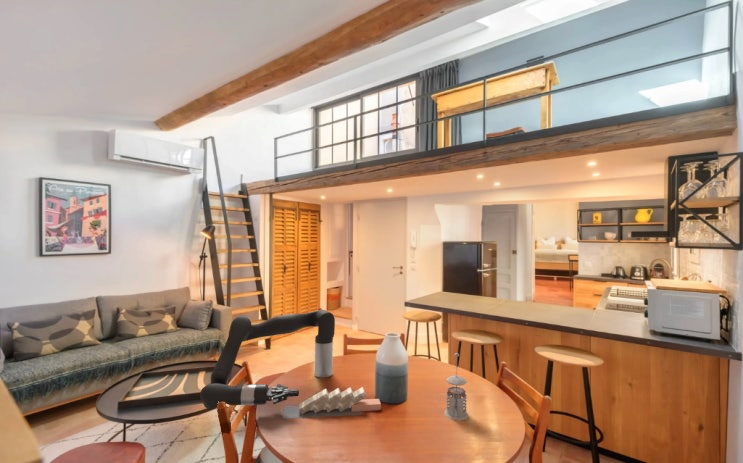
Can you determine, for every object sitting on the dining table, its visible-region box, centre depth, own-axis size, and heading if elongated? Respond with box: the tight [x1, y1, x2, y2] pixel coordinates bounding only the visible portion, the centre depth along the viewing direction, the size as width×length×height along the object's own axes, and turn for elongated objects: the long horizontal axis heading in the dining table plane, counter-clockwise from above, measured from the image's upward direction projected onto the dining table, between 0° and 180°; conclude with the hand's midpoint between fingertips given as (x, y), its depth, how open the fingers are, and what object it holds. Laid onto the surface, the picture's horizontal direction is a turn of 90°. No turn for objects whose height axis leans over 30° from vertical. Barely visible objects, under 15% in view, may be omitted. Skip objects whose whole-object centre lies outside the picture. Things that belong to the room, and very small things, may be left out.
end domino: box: [351, 398, 382, 412], centre depth 143 cm, size 2×5×12 cm
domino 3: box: [325, 386, 354, 412], centre depth 142 cm, size 2×5×12 cm
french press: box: [443, 352, 469, 421], centre depth 140 cm, size 10×12×25 cm
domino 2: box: [313, 387, 342, 413], centre depth 141 cm, size 2×5×12 cm
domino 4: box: [338, 386, 367, 412], centre depth 143 cm, size 2×5×12 cm
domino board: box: [281, 405, 364, 420], centre depth 141 cm, size 10×32×1 cm, turn 98°
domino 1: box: [299, 388, 330, 414], centre depth 140 cm, size 2×5×12 cm
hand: (298, 392), depth 139 cm, fingers closed
